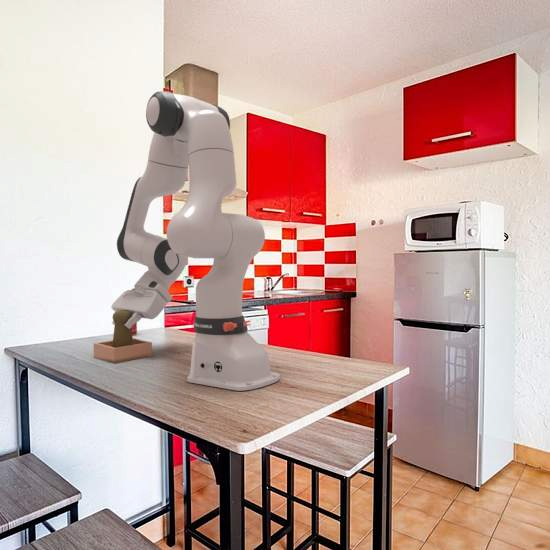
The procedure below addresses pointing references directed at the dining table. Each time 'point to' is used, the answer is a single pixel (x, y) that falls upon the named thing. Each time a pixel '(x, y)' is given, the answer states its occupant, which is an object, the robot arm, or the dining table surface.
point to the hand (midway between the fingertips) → (120, 326)
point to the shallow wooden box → (122, 351)
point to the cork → (121, 330)
